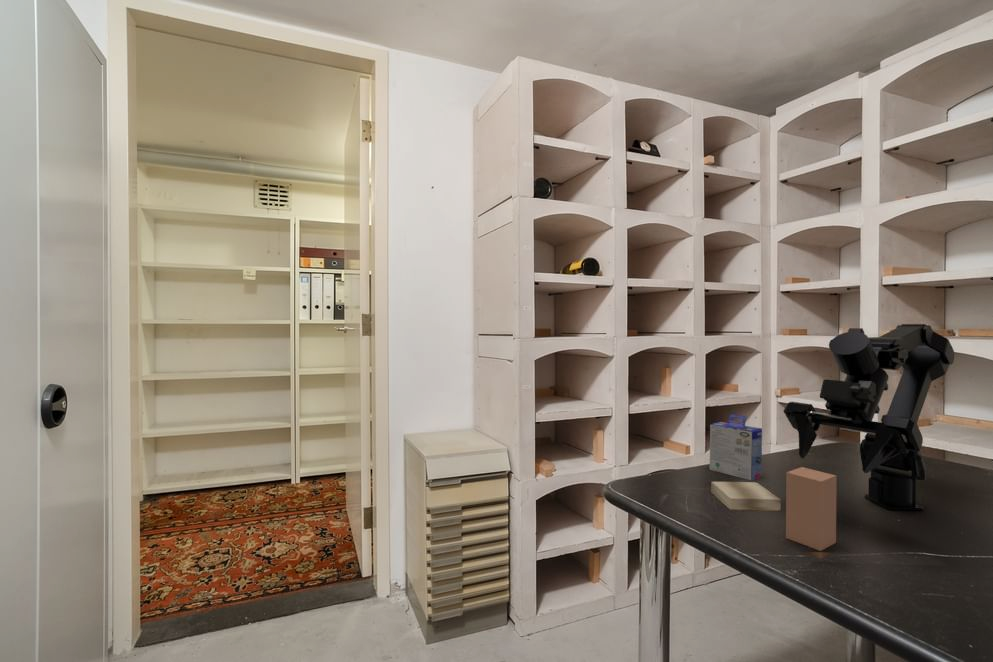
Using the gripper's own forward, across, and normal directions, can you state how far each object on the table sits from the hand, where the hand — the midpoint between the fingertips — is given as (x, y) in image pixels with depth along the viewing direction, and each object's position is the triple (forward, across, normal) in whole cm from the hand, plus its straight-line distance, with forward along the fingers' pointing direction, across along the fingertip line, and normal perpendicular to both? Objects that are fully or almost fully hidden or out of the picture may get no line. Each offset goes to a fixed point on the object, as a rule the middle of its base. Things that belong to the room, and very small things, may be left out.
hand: (831, 463), depth 76 cm
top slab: (+8, -15, +8) cm, 19 cm away
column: (+14, 0, +4) cm, 14 cm away
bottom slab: (+9, -15, +9) cm, 20 cm away
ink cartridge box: (-1, -25, +19) cm, 32 cm away
